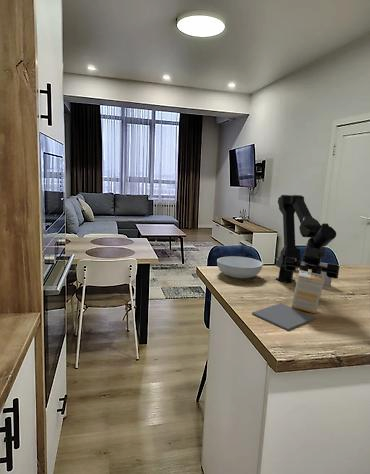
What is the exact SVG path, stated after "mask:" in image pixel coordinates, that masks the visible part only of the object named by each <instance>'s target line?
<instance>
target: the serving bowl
mask: <svg viewBox="0 0 370 474" xmlns="http://www.w3.org/2000/svg"><path fill="white" fill-rule="evenodd" d="M216 263H217V264H216V265H217V268H218V270H219V271H220V272H221V273H222V274H224V275H226V276H228V277H232V278H235V279H249V278H253V277H255V276H258V275H259V274H260V272H261V271H262V269H263V266H264V263H263V262H262V261H260V260H258V259H255V258H251V257H247V256H246V257H245V256H223V257H219V258H217V260H216Z"/></svg>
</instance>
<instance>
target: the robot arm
mask: <svg viewBox="0 0 370 474" xmlns="http://www.w3.org/2000/svg"><path fill="white" fill-rule="evenodd" d="M277 205H278V209H279V212H281V214H282V223H283V224H282V227H283V247H282V249H281V251H280V256H279V257H278V258H277V260H276V262H275V263H276V267H277V268H278V269H279V271H278V277H276V278H275V280H276V281H280V282H283V283H285V284H290V283H294V282H297V279H294V272H295V271H296V270H298V269H299V271H300V270H302V271H307V272H309V271H310V272H311V273H316V274H320V275H321V272H327V274H326V275H327V276H328V277H329V278H332V279H336V280H337V279H338V278H339V272H340V265H339V264H338V263H330V262H328V265H327V266H320V263H321V260H322V259H325V257H326V252H327V248H324V247H327V245H329V244H330V243H331V242H332V241H333V240H335V239H336V236H337V232H336V230H335V229H334V228H333V227H332V226H330V225H329V223H325V222H323V223H322V224H321V223H320V222H319V221H318V219H316V218H314V217H313V216H312V214H311V212H310V210H309V208H308V205H307V204H306V202H305V197H304V195H300V194H299V195H298V194H281V195H280V196H279V197H278V200H277ZM295 213H296V216H297V218H298V220H299V223H300V225H299V228H298V229H299V233H300V235H301V237H302V238H308V240H307V243H306V245H305V246H306V247H305V249H304V254H303V258H301V249H300V248H298V247H297V246H296V230H295V228H296V226H295Z"/></svg>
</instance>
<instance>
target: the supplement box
mask: <svg viewBox="0 0 370 474" xmlns="http://www.w3.org/2000/svg"><path fill="white" fill-rule="evenodd" d="M323 284H324V275H320V274H316V273H311V271H308V272H307V271H302V270H300V269H299V271H298V275H297V279H296V284H295V289H294V293H293V296H292V297H293V298H292V302H291V307H292V308H294V309H297V310H299V311H302V312H304V311H305V312H306V313H312V314H316V313H317V311H318V307H319V302H320V298H321V295H322V292H323V287H324V286H323Z"/></svg>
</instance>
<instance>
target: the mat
mask: <svg viewBox="0 0 370 474" xmlns="http://www.w3.org/2000/svg"><path fill="white" fill-rule="evenodd" d="M251 315H253V316H255V317H258V318H259V319H261V320H263V321H265V322H268V323H271V324H273V325H275V326H277V327H278V328H281V329H284V330H286V331H291V330H293V329H296V328H298V327H300V326H302V325H305V324H308V323H310V322H312V321H315V320H317V317H316V316H315V315H311V314H309V313H308V312H304V311H303V310H299V309H295V308H292V306H290V305H289V306H288V305H286V304H283V303H278V304H274V305H270V306H268V307H265V308H262V309H259V310H256V311H252V312H251Z"/></svg>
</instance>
